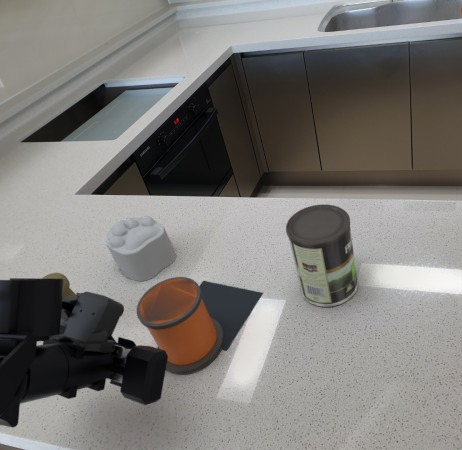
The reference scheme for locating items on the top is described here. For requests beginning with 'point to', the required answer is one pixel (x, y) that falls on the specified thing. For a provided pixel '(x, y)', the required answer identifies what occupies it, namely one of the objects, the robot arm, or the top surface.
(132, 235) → the lumpy-topped squat cylinder
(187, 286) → the spool
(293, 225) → the coffee can
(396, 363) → the top surface
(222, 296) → the mat
